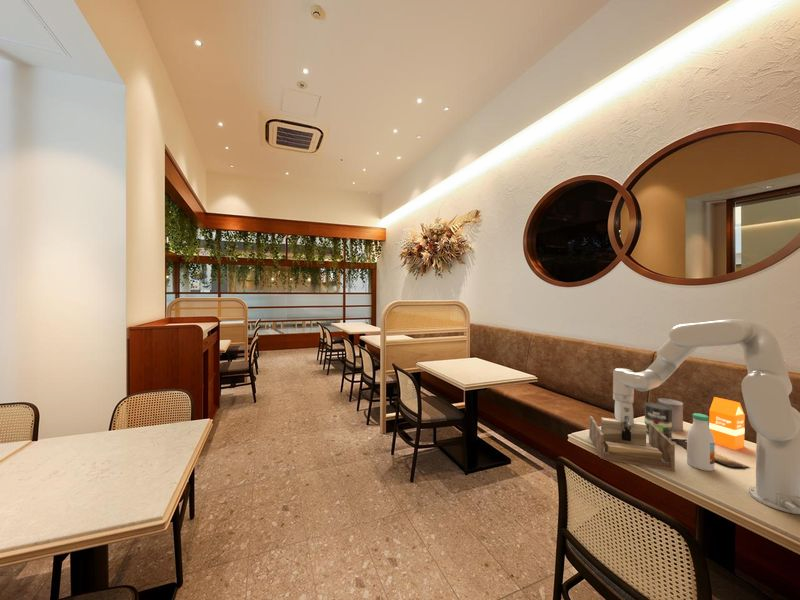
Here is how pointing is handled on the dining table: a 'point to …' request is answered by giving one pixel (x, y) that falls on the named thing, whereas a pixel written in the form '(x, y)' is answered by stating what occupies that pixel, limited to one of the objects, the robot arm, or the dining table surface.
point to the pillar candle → (674, 413)
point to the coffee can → (659, 418)
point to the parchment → (717, 456)
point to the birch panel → (614, 432)
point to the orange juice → (727, 423)
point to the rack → (655, 441)
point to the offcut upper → (633, 449)
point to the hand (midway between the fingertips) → (622, 435)
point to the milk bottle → (700, 444)
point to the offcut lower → (634, 455)
